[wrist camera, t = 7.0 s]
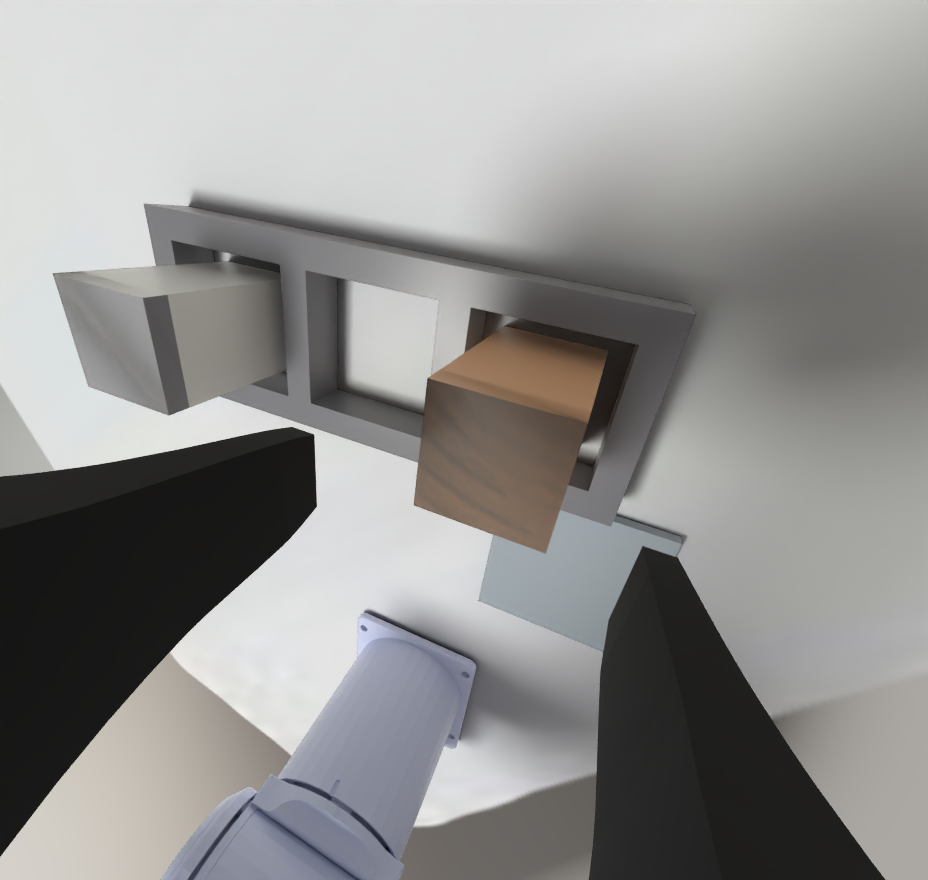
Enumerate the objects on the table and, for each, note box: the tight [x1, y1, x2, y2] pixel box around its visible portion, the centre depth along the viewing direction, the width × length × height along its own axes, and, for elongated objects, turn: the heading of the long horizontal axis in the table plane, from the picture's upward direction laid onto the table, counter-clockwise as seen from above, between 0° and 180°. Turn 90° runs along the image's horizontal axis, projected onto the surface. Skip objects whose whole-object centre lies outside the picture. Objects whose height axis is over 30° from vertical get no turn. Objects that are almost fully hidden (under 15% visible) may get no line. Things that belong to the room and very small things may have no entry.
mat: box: [478, 510, 682, 651], centre depth 20 cm, size 8×8×1 cm
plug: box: [414, 326, 608, 554], centre depth 14 cm, size 4×4×7 cm
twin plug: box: [53, 261, 287, 415], centre depth 17 cm, size 4×4×7 cm
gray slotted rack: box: [144, 204, 696, 527], centre depth 18 cm, size 8×22×2 cm, turn 82°
